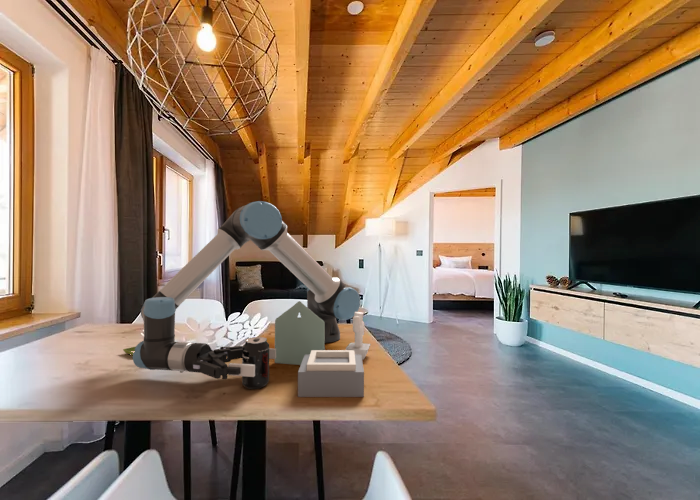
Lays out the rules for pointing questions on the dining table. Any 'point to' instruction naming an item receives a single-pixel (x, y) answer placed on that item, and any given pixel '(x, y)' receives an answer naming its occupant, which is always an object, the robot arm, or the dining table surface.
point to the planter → (298, 334)
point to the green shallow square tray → (129, 350)
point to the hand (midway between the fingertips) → (266, 361)
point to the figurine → (358, 336)
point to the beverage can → (256, 362)
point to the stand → (331, 374)
